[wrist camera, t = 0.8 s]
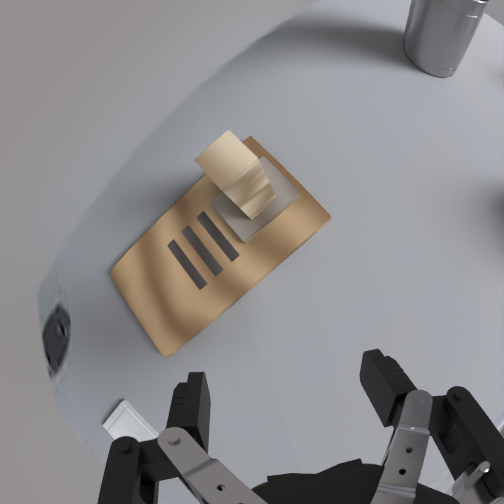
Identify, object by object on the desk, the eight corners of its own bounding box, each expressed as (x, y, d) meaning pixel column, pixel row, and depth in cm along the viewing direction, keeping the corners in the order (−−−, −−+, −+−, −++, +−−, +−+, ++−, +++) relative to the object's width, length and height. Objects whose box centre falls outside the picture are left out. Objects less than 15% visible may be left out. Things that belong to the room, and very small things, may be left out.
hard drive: (182, 461, 32) (120, 401, 35) (156, 481, 32) (100, 426, 35) (187, 456, 33) (127, 398, 36) (160, 476, 34) (106, 423, 37)
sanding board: (253, 141, 35) (250, 135, 34) (330, 219, 32) (331, 216, 31) (115, 272, 38) (108, 272, 36) (170, 355, 35) (164, 358, 33)
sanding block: (265, 161, 33) (240, 105, 21) (300, 196, 32) (290, 149, 20) (214, 205, 34) (166, 169, 22) (246, 243, 33) (208, 221, 21)
